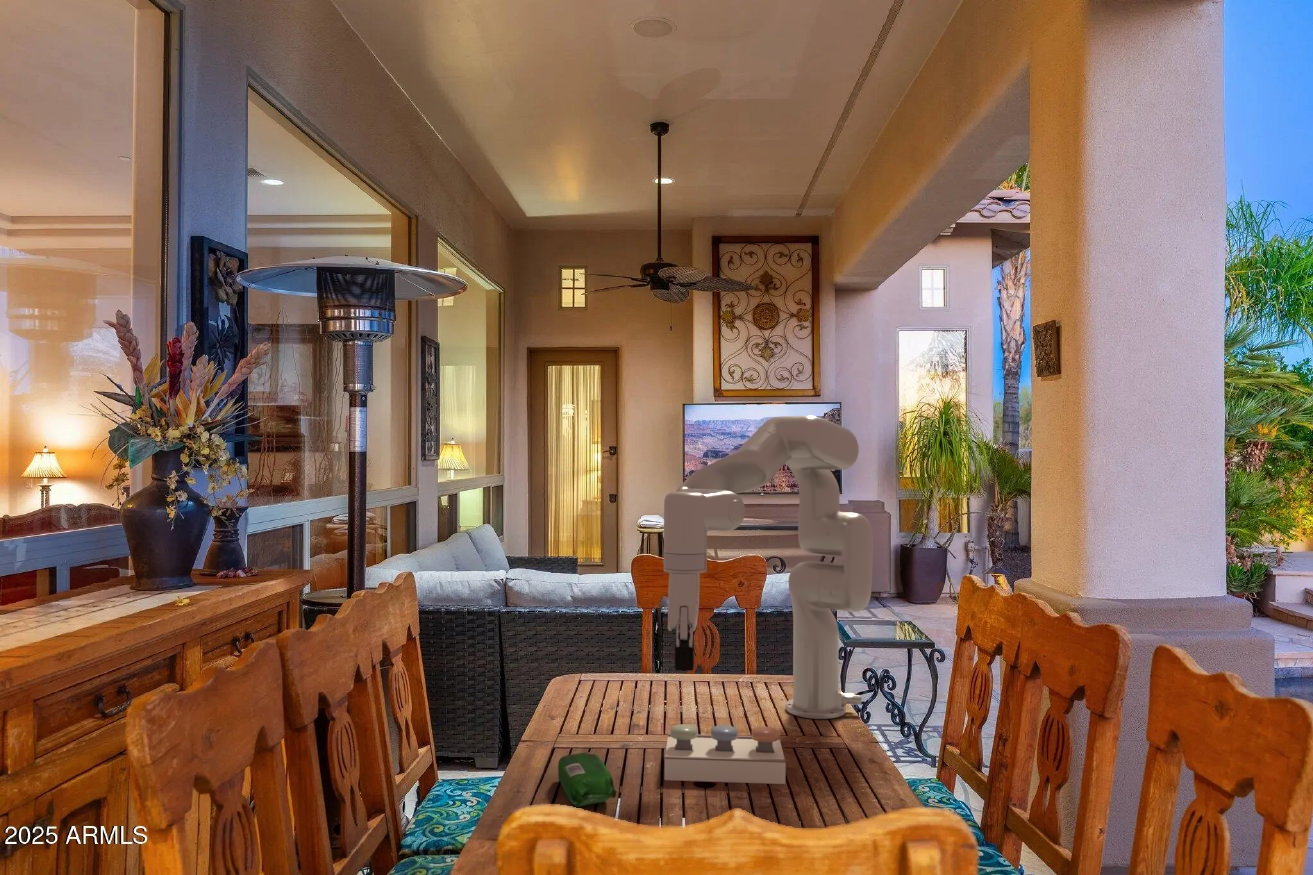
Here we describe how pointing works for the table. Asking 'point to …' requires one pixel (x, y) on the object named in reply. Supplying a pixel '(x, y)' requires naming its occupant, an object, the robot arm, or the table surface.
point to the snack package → (585, 779)
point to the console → (725, 762)
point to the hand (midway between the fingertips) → (684, 668)
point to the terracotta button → (765, 738)
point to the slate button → (724, 736)
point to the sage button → (683, 735)
